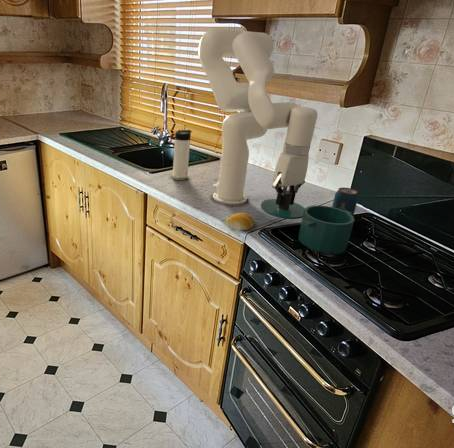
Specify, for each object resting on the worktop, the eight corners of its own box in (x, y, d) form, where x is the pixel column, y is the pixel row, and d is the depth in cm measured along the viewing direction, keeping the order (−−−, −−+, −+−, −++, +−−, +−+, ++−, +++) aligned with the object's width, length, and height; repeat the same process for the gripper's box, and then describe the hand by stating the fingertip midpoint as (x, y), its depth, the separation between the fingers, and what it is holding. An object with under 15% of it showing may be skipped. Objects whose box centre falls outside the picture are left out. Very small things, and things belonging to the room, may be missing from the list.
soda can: (344, 220, 138) (353, 187, 132) (354, 229, 131) (363, 194, 126) (324, 219, 137) (332, 186, 132) (333, 228, 131) (342, 194, 126)
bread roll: (257, 224, 131) (258, 213, 129) (245, 234, 124) (247, 222, 122) (234, 217, 135) (235, 206, 133) (221, 226, 128) (222, 214, 127)
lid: (251, 206, 134) (254, 187, 131) (282, 199, 141) (286, 181, 138) (283, 224, 123) (287, 204, 120) (315, 216, 130) (320, 197, 127)
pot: (282, 240, 122) (287, 211, 118) (324, 228, 131) (331, 201, 127) (318, 260, 111) (326, 229, 107) (361, 246, 120) (370, 217, 116)
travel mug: (190, 179, 169) (194, 132, 160) (175, 180, 167) (179, 132, 158) (184, 175, 174) (188, 128, 165) (170, 176, 172) (173, 129, 163)
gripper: (305, 144, 130) (293, 196, 138) (267, 148, 122) (257, 203, 130) (324, 150, 124) (310, 204, 132) (285, 155, 116) (273, 213, 124)
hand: (284, 203), depth 131 cm, fingers closed on lid, 3 cm apart
